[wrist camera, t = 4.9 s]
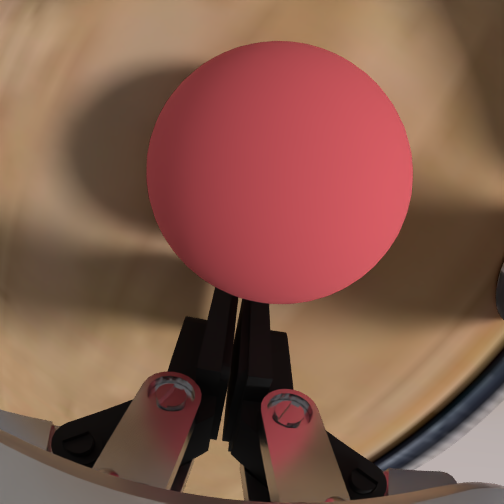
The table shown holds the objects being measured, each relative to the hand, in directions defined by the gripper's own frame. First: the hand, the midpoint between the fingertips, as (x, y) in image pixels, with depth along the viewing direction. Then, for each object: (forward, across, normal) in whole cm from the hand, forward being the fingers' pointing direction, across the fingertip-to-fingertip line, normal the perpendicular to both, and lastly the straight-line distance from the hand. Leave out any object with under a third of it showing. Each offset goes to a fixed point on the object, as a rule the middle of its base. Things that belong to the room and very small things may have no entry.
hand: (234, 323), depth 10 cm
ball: (-1, 0, -5) cm, 5 cm away
